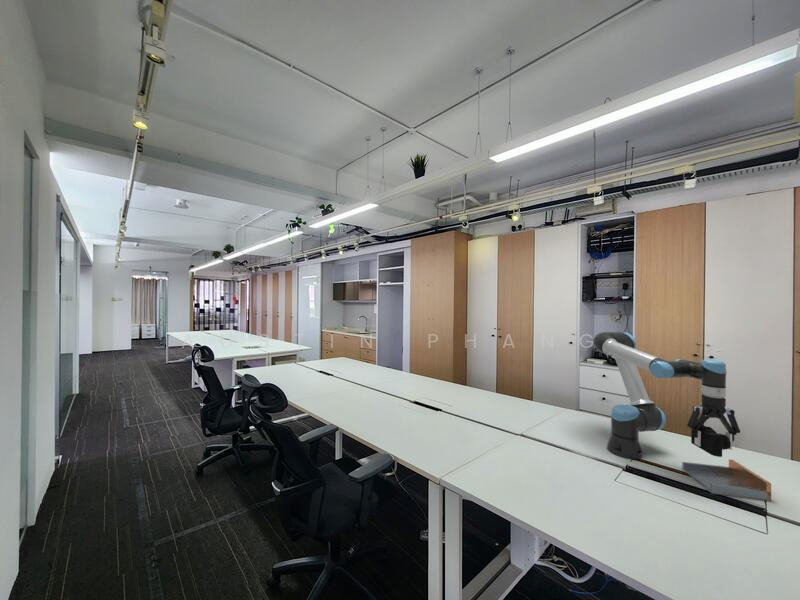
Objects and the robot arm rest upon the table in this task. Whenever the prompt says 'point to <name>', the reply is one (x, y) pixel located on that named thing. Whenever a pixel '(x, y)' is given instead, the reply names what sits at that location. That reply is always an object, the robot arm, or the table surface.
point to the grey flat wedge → (729, 480)
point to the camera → (712, 441)
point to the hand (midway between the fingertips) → (712, 446)
